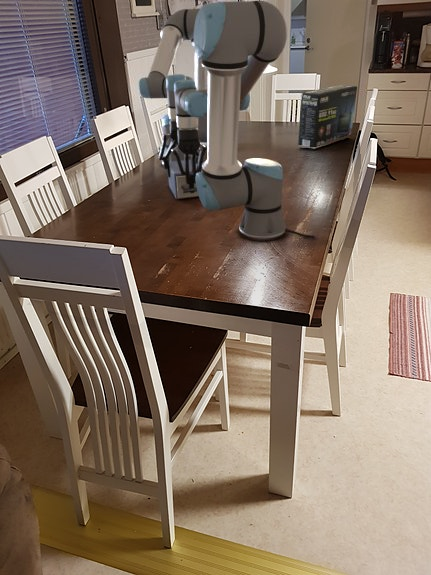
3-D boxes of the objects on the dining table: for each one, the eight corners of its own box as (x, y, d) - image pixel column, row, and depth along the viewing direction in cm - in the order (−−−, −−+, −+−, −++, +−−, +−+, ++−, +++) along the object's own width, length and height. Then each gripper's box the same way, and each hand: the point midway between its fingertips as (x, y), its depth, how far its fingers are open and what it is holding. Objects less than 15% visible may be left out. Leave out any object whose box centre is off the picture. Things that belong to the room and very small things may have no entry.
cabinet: (203, 195, 181) (202, 170, 176) (176, 199, 179) (174, 173, 174) (194, 183, 195) (193, 159, 190) (169, 186, 193) (166, 162, 188)
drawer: (206, 200, 174) (205, 179, 170) (181, 203, 172) (179, 182, 168) (194, 183, 192) (193, 163, 188) (171, 185, 190) (169, 166, 186)
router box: (314, 151, 231) (318, 94, 217) (296, 148, 237) (299, 92, 224) (352, 138, 251) (358, 85, 238) (335, 135, 258) (340, 83, 245)
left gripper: (206, 114, 182) (208, 169, 193) (147, 119, 177) (153, 175, 188) (210, 118, 175) (213, 174, 187) (149, 123, 171) (155, 180, 182)
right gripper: (203, 124, 166) (206, 186, 179) (167, 127, 164) (173, 190, 176) (208, 128, 160) (210, 193, 172) (171, 131, 157) (176, 197, 170)
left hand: (183, 174), depth 188 cm, fingers closed on cabinet, 11 cm apart
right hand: (191, 191), depth 174 cm, fingers closed
